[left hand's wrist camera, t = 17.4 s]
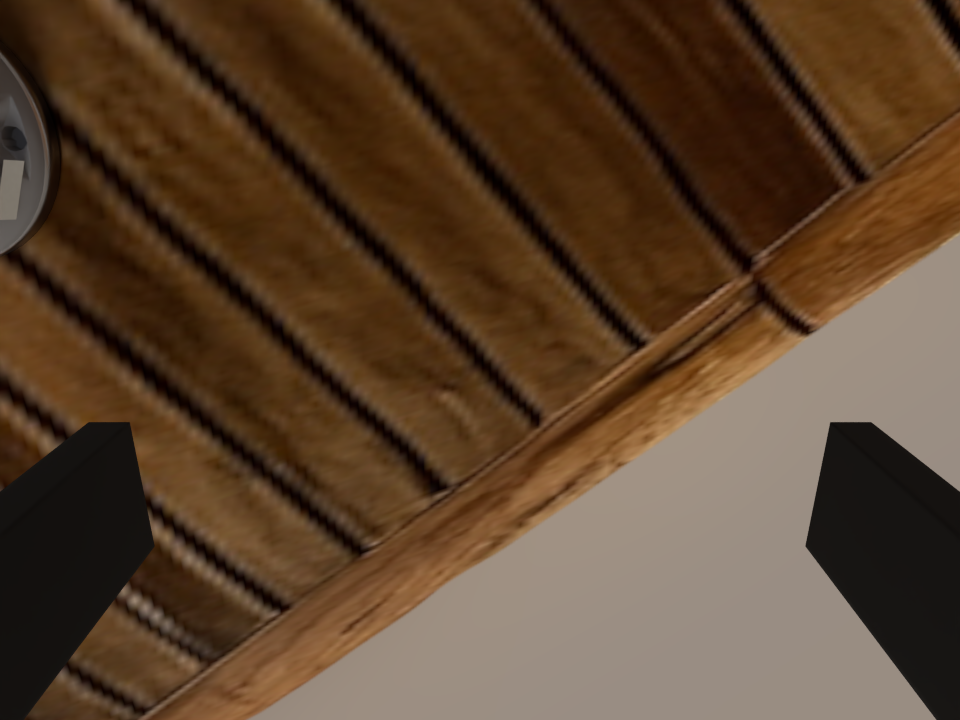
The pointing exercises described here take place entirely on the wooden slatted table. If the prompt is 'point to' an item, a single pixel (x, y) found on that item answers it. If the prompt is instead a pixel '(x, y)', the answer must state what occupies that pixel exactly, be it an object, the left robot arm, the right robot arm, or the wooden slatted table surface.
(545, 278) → the wooden slatted table surface
